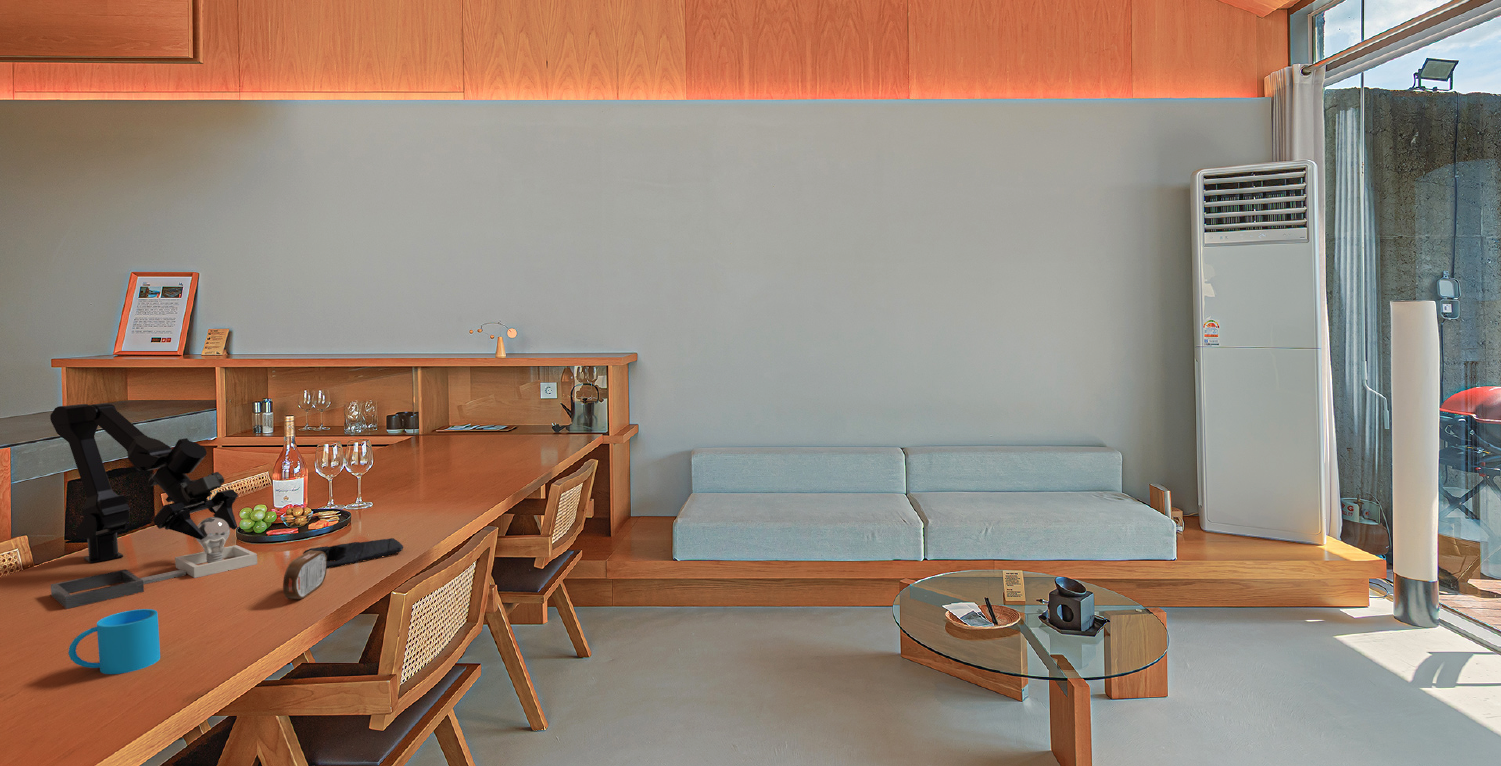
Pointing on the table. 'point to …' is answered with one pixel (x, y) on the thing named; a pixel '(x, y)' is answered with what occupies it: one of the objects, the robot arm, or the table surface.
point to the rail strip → (163, 576)
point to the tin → (304, 574)
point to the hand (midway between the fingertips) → (219, 533)
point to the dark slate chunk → (359, 551)
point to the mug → (123, 642)
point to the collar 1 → (69, 601)
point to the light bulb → (214, 537)
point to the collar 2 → (240, 560)
